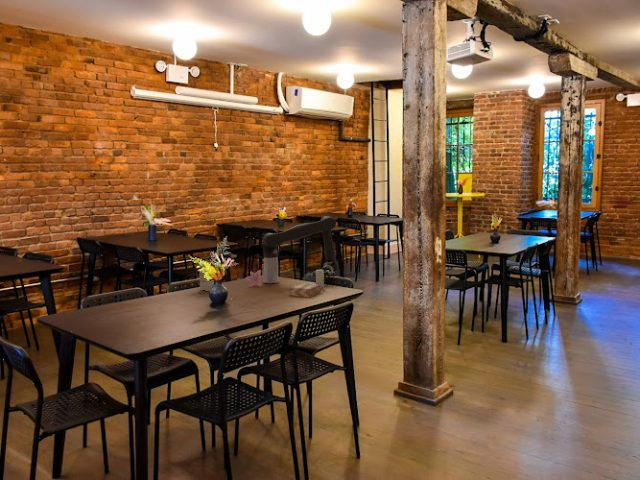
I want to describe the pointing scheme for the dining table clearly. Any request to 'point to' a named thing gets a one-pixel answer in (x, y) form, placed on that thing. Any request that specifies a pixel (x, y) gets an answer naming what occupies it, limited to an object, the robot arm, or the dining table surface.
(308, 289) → the birch plinth
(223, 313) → the dining table surface
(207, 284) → the supplement box
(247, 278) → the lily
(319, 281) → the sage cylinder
